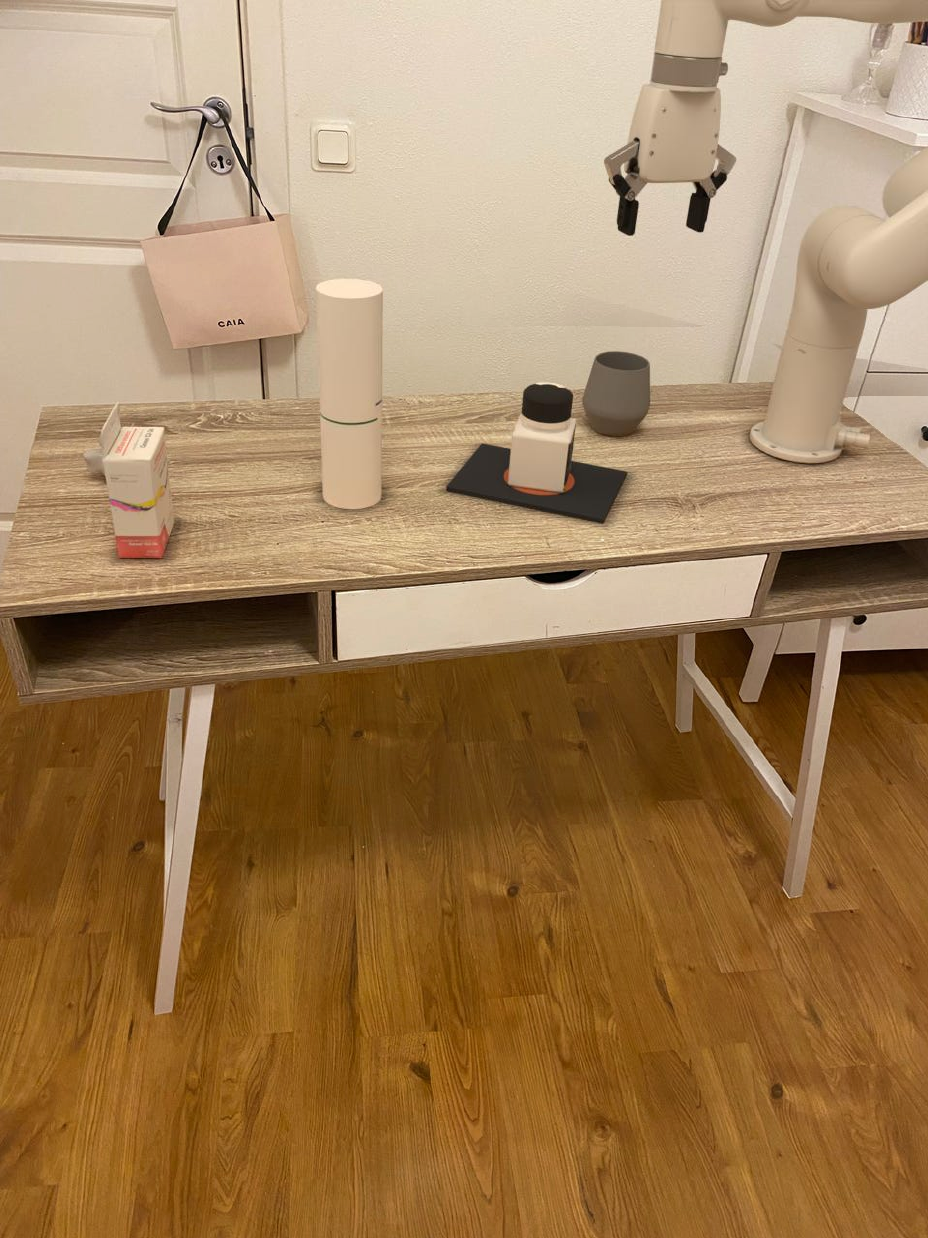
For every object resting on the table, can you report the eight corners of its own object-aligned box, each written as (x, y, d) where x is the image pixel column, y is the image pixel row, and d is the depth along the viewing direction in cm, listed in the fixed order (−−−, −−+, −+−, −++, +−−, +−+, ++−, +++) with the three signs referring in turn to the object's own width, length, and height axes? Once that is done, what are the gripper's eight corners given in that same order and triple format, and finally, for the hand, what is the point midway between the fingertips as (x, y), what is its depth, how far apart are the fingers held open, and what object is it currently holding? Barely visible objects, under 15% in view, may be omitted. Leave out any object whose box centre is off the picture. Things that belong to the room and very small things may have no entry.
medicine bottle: (564, 494, 123) (575, 402, 116) (507, 486, 124) (514, 395, 117) (570, 469, 129) (581, 380, 122) (516, 462, 130) (524, 373, 123)
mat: (626, 475, 130) (627, 470, 130) (603, 523, 119) (603, 518, 119) (481, 447, 135) (481, 442, 135) (445, 490, 124) (446, 485, 124)
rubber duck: (146, 483, 121) (138, 422, 117) (89, 491, 119) (78, 429, 114) (140, 464, 125) (131, 404, 121) (85, 471, 123) (74, 410, 119)
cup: (599, 410, 148) (609, 343, 142) (656, 427, 143) (668, 360, 138) (567, 429, 141) (575, 361, 135) (625, 448, 137) (636, 378, 131)
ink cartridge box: (165, 559, 107) (147, 432, 99) (117, 559, 107) (96, 432, 99) (177, 520, 114) (161, 399, 106) (132, 520, 114) (113, 398, 106)
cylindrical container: (390, 488, 124) (392, 284, 109) (367, 513, 118) (366, 302, 104) (337, 477, 125) (333, 275, 111) (312, 502, 120) (304, 291, 106)
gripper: (731, 69, 118) (704, 221, 128) (601, 68, 113) (583, 226, 122) (768, 78, 112) (737, 236, 122) (633, 76, 107) (612, 242, 117)
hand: (660, 231), depth 122 cm, fingers open, 9 cm apart
